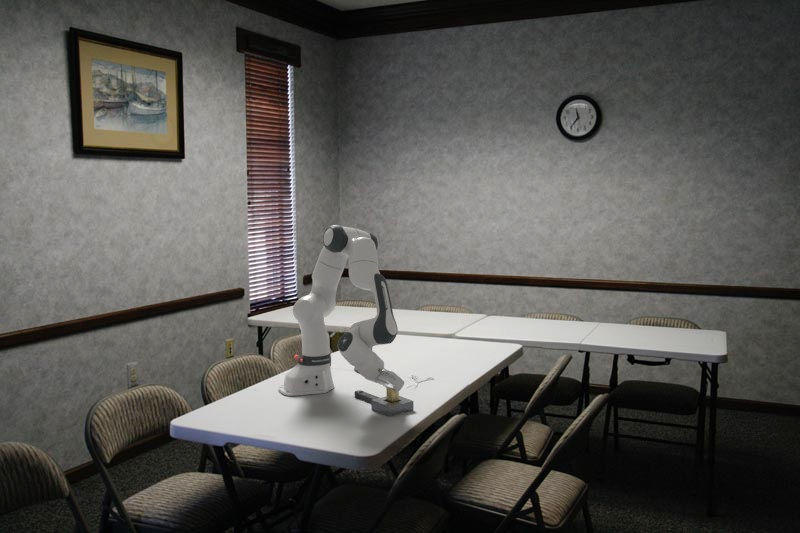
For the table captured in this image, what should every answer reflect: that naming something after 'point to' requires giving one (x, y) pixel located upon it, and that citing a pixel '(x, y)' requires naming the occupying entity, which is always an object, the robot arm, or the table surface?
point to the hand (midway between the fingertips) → (394, 389)
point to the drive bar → (392, 395)
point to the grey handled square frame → (386, 404)
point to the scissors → (420, 381)
